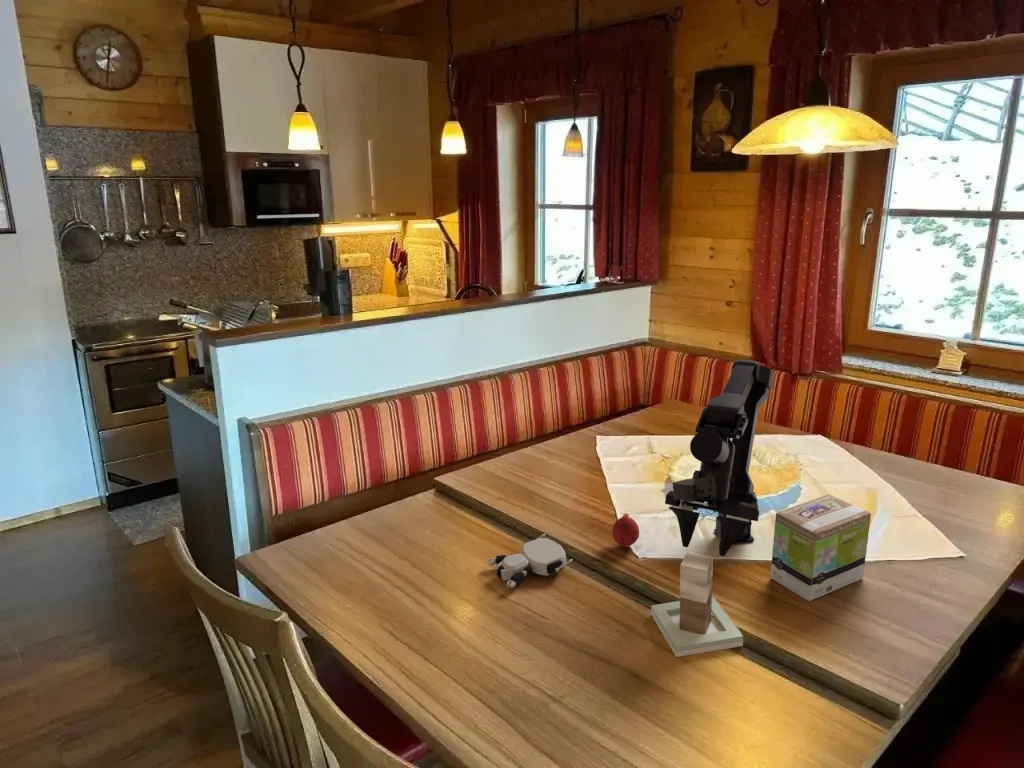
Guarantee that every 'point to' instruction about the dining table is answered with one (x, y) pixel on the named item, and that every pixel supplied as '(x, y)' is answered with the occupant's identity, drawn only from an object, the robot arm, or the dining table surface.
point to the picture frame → (688, 643)
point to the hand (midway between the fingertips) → (702, 551)
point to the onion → (625, 531)
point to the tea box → (819, 546)
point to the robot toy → (531, 561)
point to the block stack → (696, 592)
